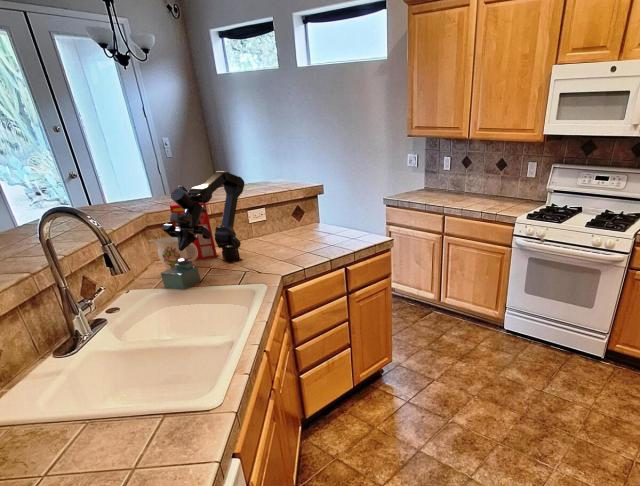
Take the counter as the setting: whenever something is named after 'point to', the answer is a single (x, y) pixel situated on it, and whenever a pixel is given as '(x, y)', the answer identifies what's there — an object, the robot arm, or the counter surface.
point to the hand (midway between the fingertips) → (180, 250)
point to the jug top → (181, 276)
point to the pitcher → (171, 251)
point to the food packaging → (199, 236)
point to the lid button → (183, 261)
